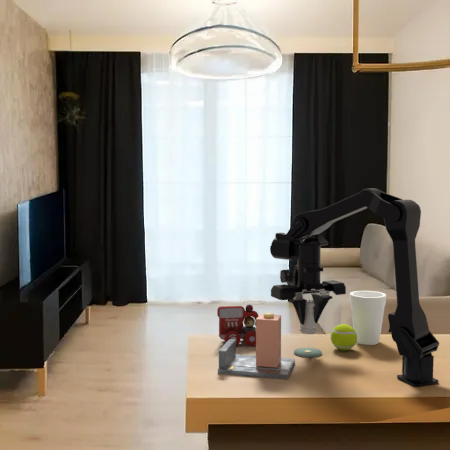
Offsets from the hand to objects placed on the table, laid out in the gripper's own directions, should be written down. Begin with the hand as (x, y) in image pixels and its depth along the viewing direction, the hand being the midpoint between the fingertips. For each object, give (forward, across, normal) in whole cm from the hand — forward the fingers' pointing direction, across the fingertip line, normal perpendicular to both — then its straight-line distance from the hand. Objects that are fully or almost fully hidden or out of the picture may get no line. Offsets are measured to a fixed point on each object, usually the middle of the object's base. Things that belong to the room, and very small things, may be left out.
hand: (308, 323), depth 155 cm
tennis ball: (+8, -10, +1) cm, 13 cm away
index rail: (+8, +17, +5) cm, 19 cm away
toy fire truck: (+8, +12, -15) cm, 21 cm away
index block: (+6, +15, +7) cm, 17 cm away
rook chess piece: (+2, 0, 0) cm, 2 cm away
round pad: (+8, 0, 0) cm, 8 cm away
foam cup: (+8, -20, -3) cm, 22 cm away
